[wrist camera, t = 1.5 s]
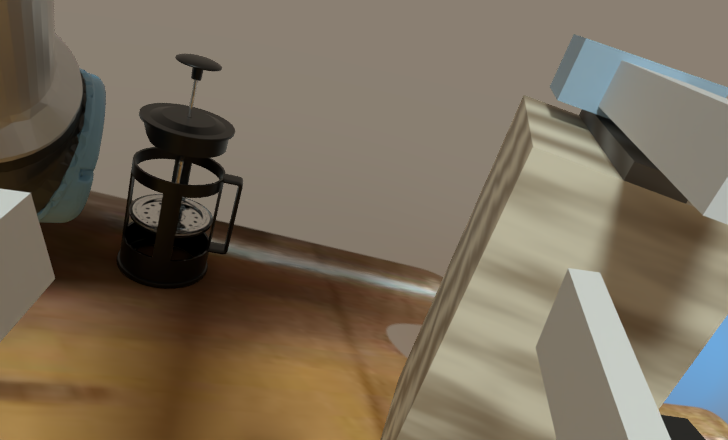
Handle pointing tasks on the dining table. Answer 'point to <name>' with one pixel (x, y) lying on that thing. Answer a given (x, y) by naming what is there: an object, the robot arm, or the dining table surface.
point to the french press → (177, 191)
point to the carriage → (656, 116)
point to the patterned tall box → (559, 278)
